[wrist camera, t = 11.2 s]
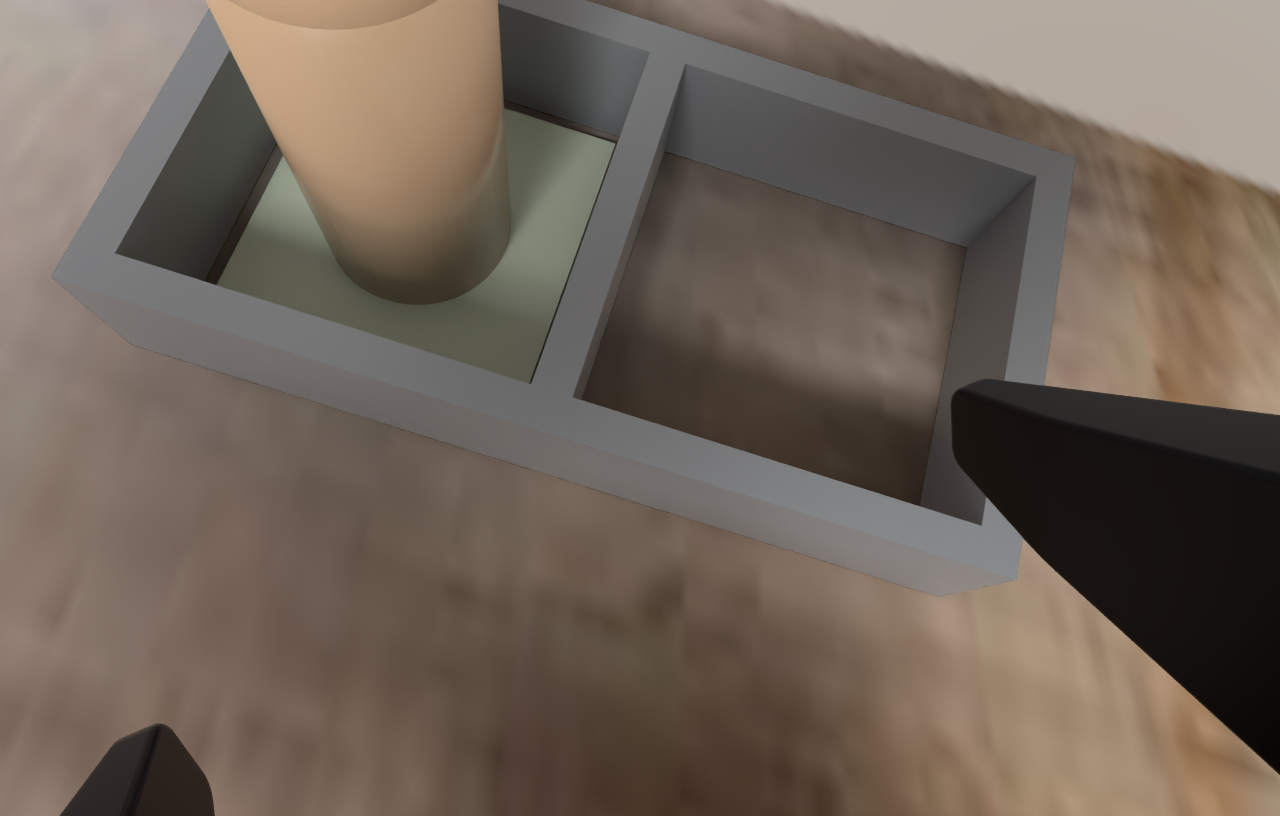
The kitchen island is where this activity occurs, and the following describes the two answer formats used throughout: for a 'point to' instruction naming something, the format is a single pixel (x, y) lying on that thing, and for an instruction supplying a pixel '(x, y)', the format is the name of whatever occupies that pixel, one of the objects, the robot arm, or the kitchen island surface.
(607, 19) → the carton frame
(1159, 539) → the robot arm
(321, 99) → the beige rounded cylinder
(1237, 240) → the kitchen island surface
